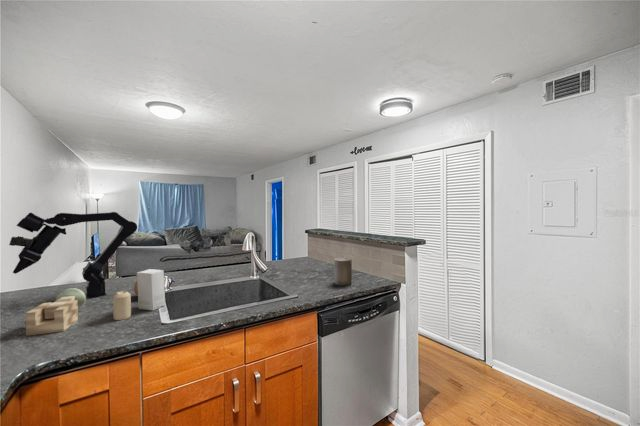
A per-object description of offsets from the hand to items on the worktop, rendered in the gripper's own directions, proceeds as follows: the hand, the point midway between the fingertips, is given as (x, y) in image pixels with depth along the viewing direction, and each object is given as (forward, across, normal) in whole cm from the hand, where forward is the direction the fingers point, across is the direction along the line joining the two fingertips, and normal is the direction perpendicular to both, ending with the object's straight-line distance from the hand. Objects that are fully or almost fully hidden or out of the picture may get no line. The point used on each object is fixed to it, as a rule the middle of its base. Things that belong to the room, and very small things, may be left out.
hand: (15, 271), depth 114 cm
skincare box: (-10, +35, +43) cm, 56 cm away
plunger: (+4, +27, +20) cm, 34 cm away
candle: (-4, +39, +34) cm, 52 cm away
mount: (+7, +32, +18) cm, 38 cm away
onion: (-11, +19, +44) cm, 49 cm away
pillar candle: (-60, +66, +113) cm, 144 cm away
